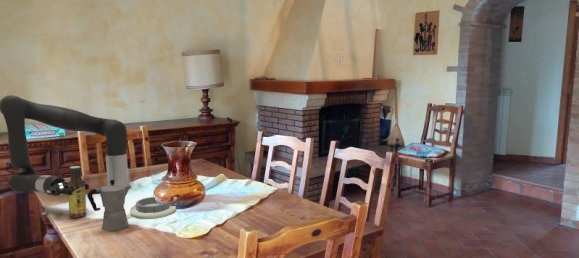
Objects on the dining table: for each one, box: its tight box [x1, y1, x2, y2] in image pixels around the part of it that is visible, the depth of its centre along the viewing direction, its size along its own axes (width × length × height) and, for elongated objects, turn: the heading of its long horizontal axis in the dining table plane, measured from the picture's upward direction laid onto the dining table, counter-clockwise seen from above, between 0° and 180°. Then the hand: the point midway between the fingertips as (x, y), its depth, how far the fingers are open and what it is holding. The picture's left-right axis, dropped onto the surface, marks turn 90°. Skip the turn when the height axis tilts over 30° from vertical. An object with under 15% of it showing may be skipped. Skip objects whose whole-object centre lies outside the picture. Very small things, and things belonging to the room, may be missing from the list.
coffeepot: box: [86, 180, 132, 232], centre depth 167 cm, size 15×9×18 cm, turn 122°
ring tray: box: [129, 196, 177, 220], centre depth 186 cm, size 18×18×4 cm
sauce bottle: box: [67, 165, 87, 219], centre depth 180 cm, size 7×6×20 cm
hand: (80, 189), depth 179 cm, fingers open, 7 cm apart
